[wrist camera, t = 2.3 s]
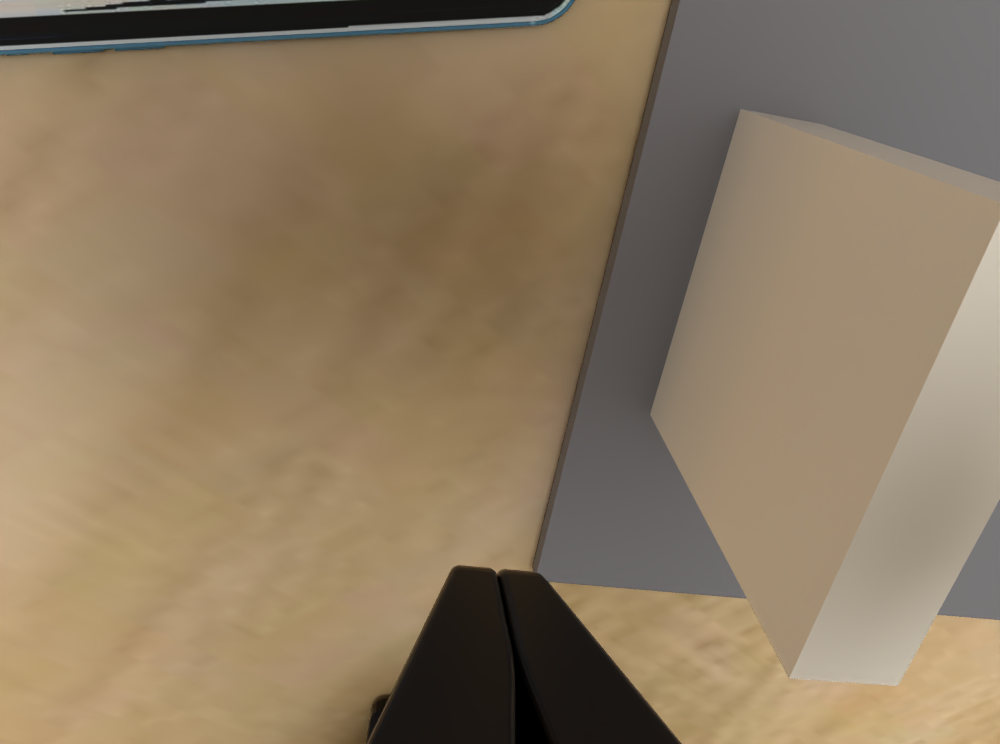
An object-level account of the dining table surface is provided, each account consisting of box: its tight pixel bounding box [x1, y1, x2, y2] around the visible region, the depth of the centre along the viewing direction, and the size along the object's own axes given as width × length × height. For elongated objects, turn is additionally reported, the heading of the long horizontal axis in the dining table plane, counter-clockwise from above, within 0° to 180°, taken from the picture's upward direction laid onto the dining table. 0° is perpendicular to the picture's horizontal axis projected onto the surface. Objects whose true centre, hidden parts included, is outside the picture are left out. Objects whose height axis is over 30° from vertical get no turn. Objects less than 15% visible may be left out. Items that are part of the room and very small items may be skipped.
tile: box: [650, 109, 1000, 686], centre depth 15 cm, size 8×2×9 cm, turn 170°
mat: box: [533, 0, 1000, 620], centre depth 20 cm, size 20×18×1 cm
